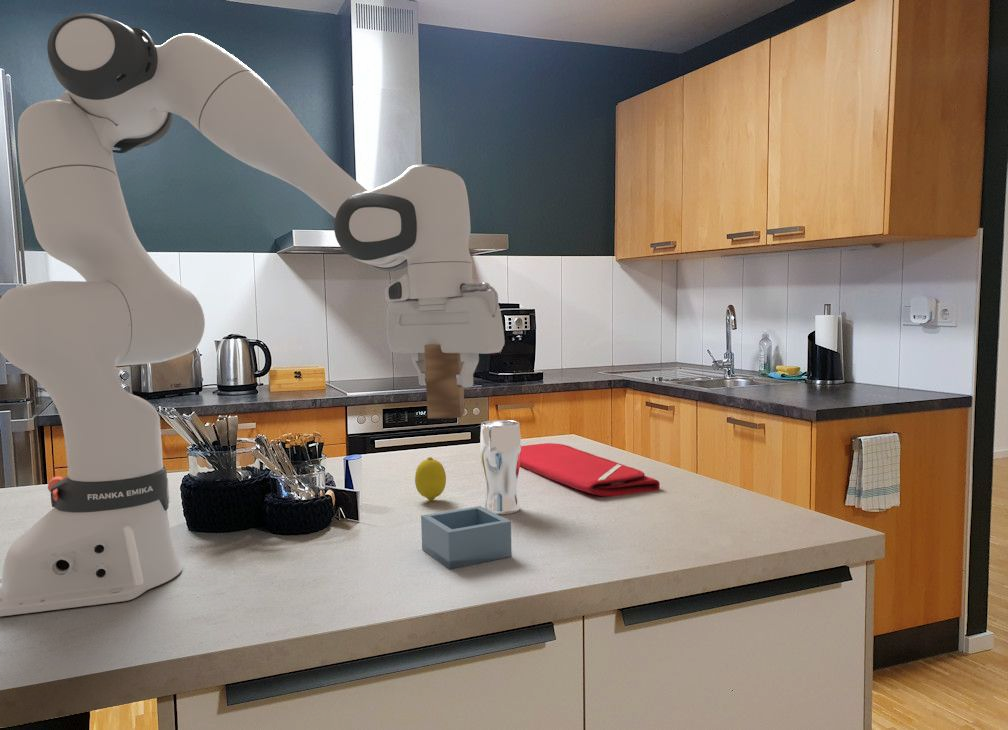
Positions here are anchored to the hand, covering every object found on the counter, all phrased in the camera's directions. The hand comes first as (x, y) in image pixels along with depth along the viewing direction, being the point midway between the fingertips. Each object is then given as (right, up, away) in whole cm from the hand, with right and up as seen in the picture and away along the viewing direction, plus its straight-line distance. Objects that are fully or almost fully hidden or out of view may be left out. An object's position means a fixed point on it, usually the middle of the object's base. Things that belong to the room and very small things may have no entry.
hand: (445, 386), depth 105 cm
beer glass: (+8, -22, +25) cm, 34 cm away
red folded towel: (+22, -20, +52) cm, 60 cm away
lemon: (-5, -22, +31) cm, 38 cm away
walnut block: (0, -4, 0) cm, 4 cm away
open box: (+3, -24, +3) cm, 24 cm away
